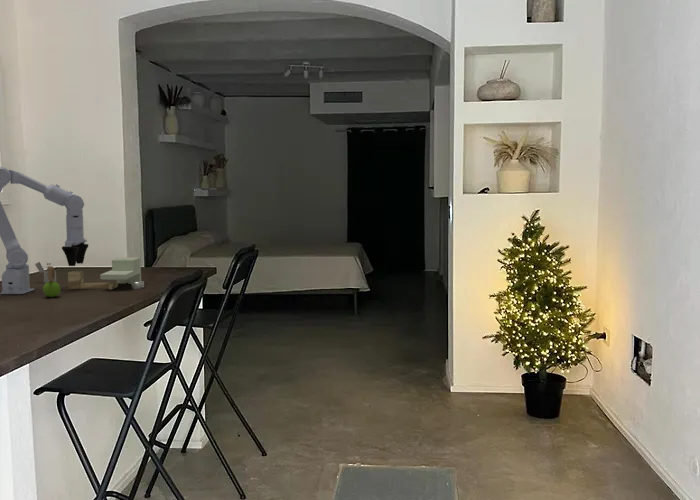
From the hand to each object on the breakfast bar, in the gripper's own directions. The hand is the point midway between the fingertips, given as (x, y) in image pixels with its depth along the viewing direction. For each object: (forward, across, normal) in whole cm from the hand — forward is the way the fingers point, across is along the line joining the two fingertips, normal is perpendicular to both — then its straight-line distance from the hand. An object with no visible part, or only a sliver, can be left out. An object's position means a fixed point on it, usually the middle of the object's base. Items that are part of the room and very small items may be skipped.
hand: (76, 264), depth 234 cm
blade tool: (+9, 0, -6) cm, 10 cm away
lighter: (+9, +14, +17) cm, 24 cm away
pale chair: (+9, +3, -16) cm, 18 cm away
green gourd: (+9, -20, +1) cm, 22 cm away
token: (+9, 0, -22) cm, 24 cm away
